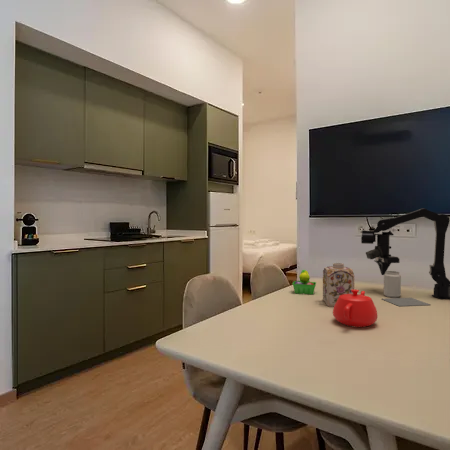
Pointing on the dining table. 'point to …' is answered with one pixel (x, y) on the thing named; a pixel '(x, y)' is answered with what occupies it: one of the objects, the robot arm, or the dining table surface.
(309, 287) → the fruit basket
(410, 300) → the mat
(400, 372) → the dining table surface
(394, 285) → the can
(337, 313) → the teapot
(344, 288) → the decorative jar
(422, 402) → the dining table surface
